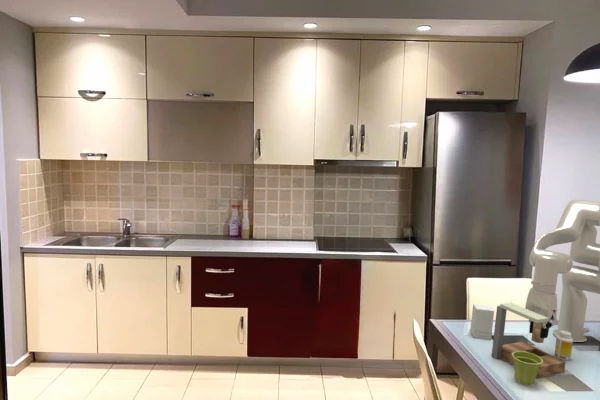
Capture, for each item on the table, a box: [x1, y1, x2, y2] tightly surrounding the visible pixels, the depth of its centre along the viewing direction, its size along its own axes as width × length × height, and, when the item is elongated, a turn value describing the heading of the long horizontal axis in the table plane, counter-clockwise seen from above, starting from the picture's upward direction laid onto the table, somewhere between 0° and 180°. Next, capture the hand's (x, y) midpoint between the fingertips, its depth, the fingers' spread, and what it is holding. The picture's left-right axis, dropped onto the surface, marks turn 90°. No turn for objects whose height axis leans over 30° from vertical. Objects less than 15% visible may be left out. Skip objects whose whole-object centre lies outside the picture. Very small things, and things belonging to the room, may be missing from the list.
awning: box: [491, 302, 549, 360], centre depth 166 cm, size 6×17×21 cm, turn 23°
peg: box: [531, 322, 545, 344], centre depth 169 cm, size 4×4×10 cm
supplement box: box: [470, 303, 495, 341], centre depth 193 cm, size 7×7×13 cm
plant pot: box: [512, 351, 543, 386], centre depth 155 cm, size 9×9×9 cm
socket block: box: [500, 341, 567, 379], centre depth 169 cm, size 14×18×4 cm
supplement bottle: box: [553, 331, 574, 361], centre depth 176 cm, size 6×6×10 cm
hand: (538, 334), depth 169 cm, fingers closed on peg, 4 cm apart
